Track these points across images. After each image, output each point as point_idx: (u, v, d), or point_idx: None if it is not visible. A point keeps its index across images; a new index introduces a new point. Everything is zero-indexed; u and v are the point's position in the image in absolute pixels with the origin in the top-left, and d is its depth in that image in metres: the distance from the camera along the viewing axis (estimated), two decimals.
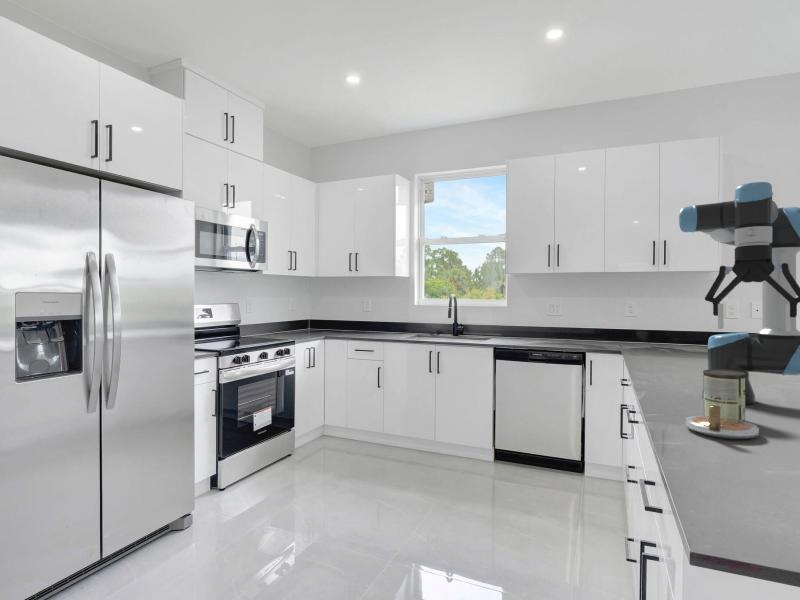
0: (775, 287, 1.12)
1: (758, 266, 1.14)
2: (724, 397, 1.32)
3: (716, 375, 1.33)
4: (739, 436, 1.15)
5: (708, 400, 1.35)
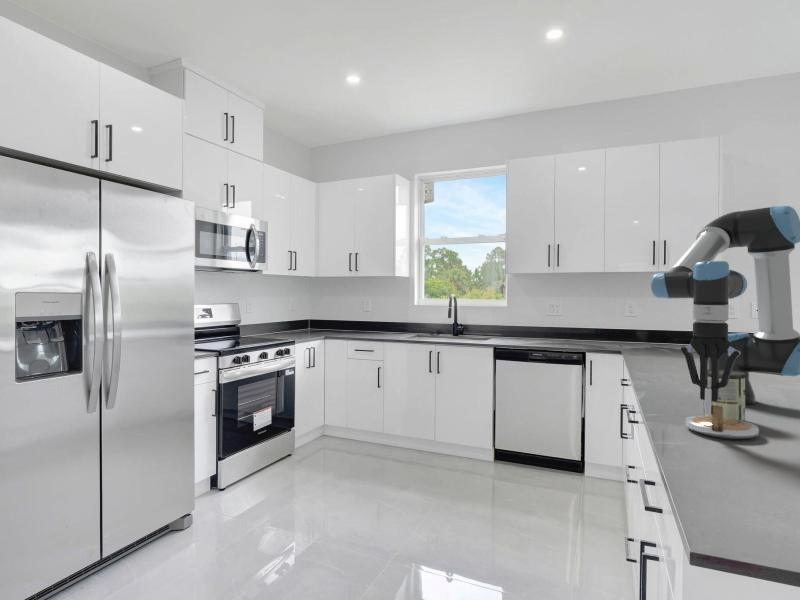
0: (713, 368, 1.17)
1: (717, 339, 1.16)
2: (724, 397, 1.32)
3: None
4: (741, 436, 1.15)
5: None
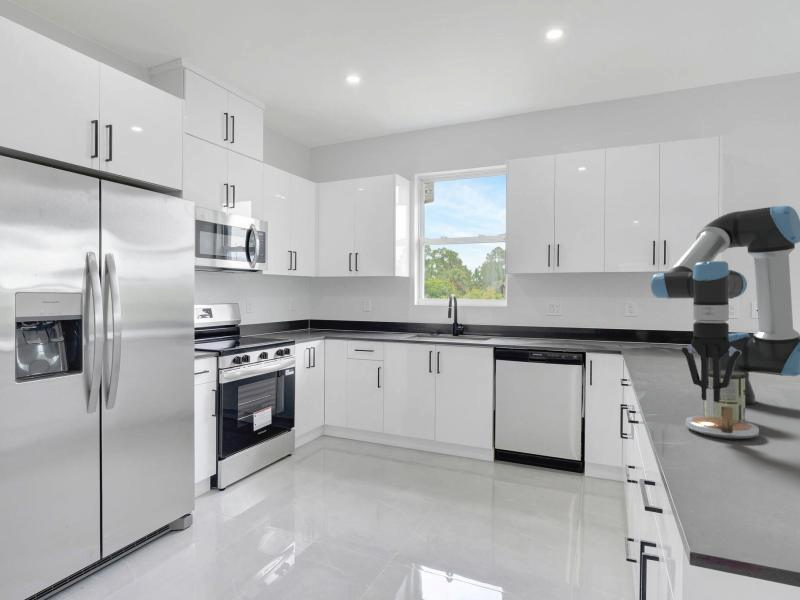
0: (714, 368, 1.17)
1: (718, 339, 1.16)
2: (724, 397, 1.32)
3: None
4: (749, 436, 1.15)
5: None
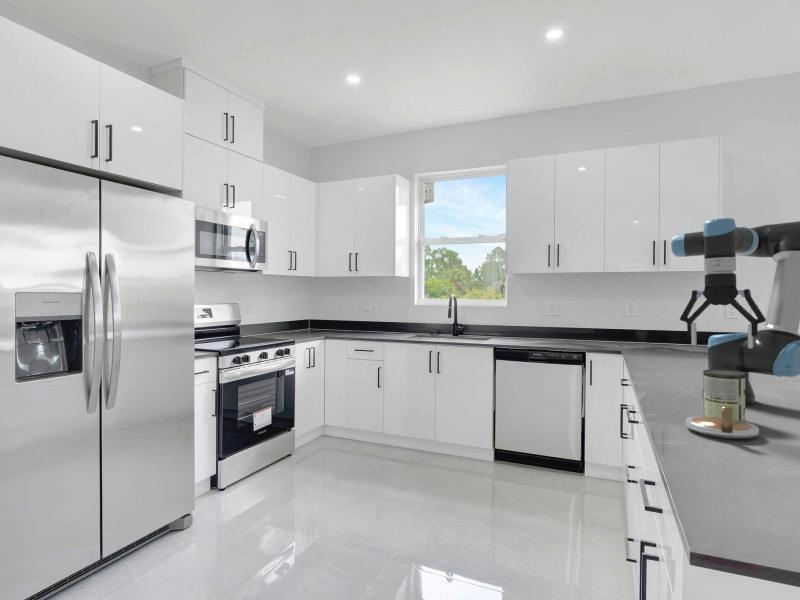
0: (739, 310, 1.29)
1: (724, 291, 1.32)
2: (724, 397, 1.32)
3: (716, 375, 1.33)
4: (749, 436, 1.15)
5: (708, 400, 1.35)
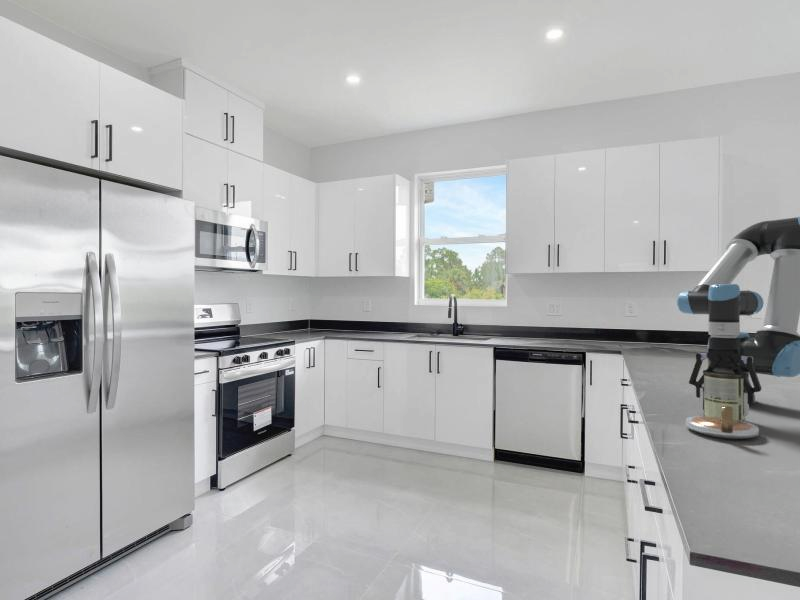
0: None
1: (728, 354, 1.34)
2: (724, 397, 1.32)
3: (716, 375, 1.33)
4: (749, 436, 1.15)
5: (708, 400, 1.35)
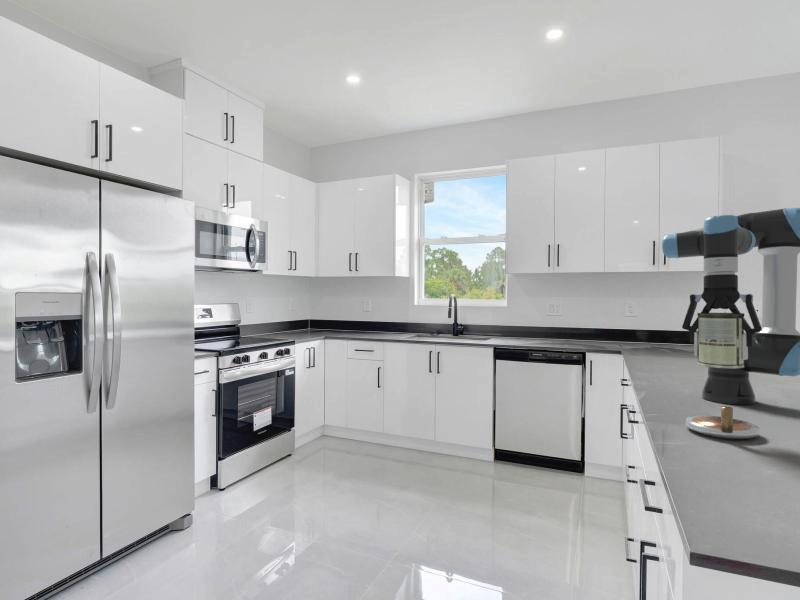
0: None
1: (725, 293, 1.21)
2: (721, 339, 1.19)
3: (712, 315, 1.20)
4: (749, 436, 1.15)
5: (703, 344, 1.23)
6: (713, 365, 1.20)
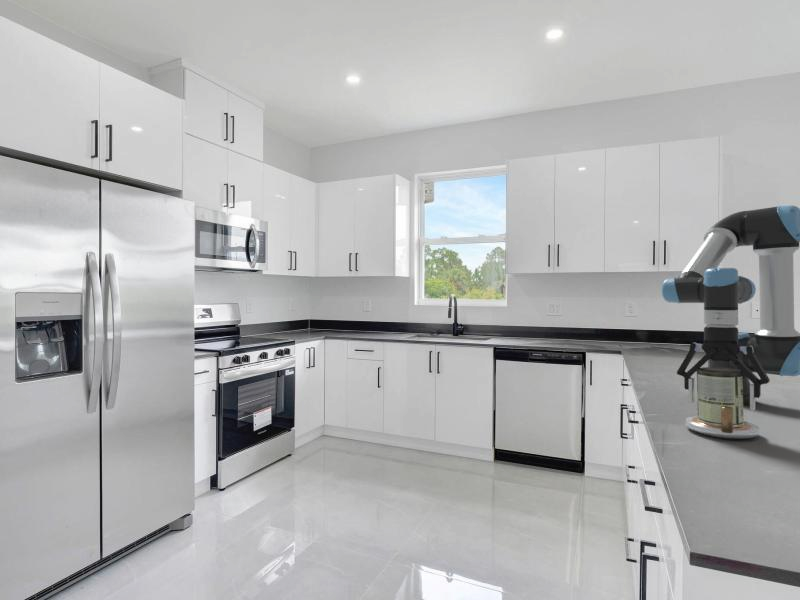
0: (740, 368, 1.19)
1: (725, 347, 1.21)
2: (720, 398, 1.19)
3: (710, 373, 1.20)
4: (749, 436, 1.15)
5: (702, 401, 1.23)
6: (713, 423, 1.20)
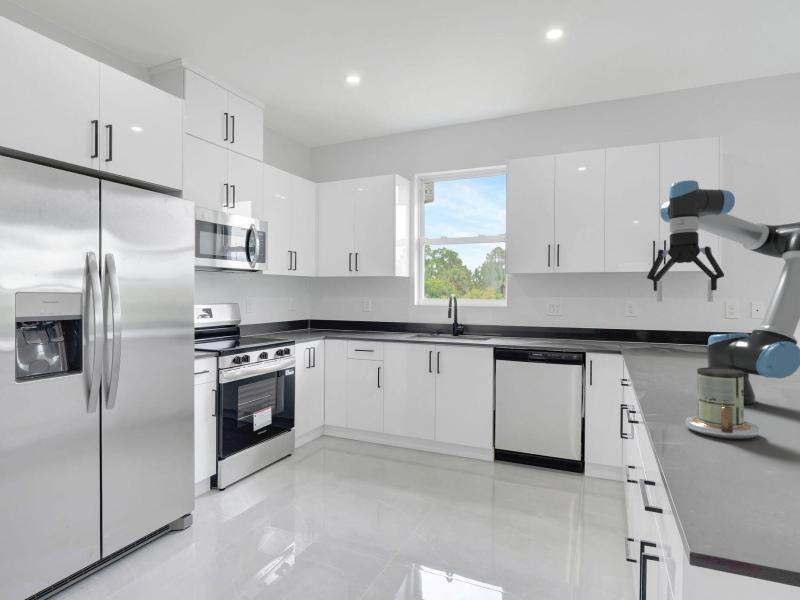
0: (700, 266, 1.38)
1: (687, 249, 1.40)
2: (720, 398, 1.19)
3: (711, 374, 1.20)
4: (749, 436, 1.15)
5: (702, 402, 1.23)
6: (713, 424, 1.20)
